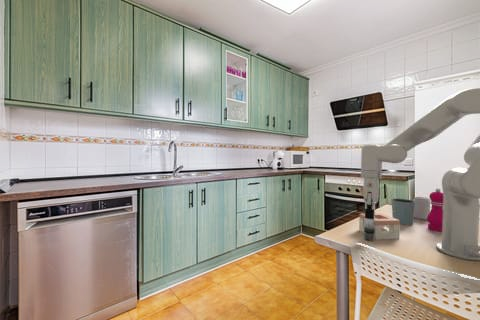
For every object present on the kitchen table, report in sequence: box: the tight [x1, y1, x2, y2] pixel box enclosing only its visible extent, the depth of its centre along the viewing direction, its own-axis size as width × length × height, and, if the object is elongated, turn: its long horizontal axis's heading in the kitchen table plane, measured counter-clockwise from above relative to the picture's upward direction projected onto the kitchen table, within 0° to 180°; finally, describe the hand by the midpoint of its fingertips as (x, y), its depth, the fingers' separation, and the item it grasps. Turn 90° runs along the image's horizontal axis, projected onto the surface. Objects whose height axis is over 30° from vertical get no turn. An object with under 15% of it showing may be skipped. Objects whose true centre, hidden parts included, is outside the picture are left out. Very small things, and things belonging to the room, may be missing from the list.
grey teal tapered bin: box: [391, 198, 415, 226], centre depth 116 cm, size 10×10×12 cm
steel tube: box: [363, 201, 376, 242], centre depth 93 cm, size 4×4×16 cm
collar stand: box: [358, 212, 401, 240], centre depth 99 cm, size 11×11×8 cm
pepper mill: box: [426, 188, 443, 233], centre depth 106 cm, size 7×7×20 cm
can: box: [412, 196, 431, 221], centre depth 123 cm, size 8×8×12 cm
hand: (369, 217), depth 93 cm, fingers closed on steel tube, 3 cm apart
